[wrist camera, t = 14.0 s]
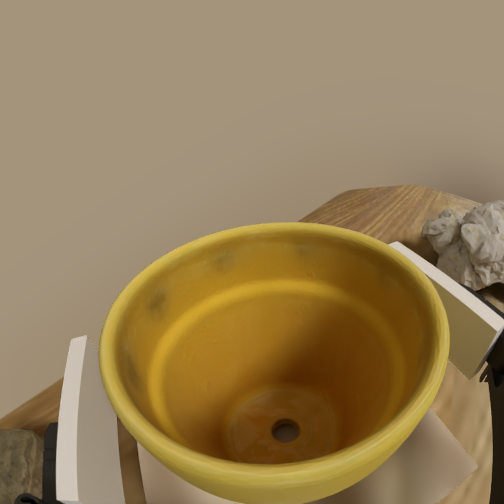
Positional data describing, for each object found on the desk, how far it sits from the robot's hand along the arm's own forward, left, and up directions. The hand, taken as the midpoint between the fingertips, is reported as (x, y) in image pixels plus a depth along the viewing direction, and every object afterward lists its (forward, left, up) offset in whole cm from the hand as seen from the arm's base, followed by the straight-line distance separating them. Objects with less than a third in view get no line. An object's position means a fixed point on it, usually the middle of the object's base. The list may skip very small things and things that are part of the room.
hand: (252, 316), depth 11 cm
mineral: (+27, +4, -11) cm, 30 cm away
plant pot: (0, -2, -7) cm, 8 cm away
